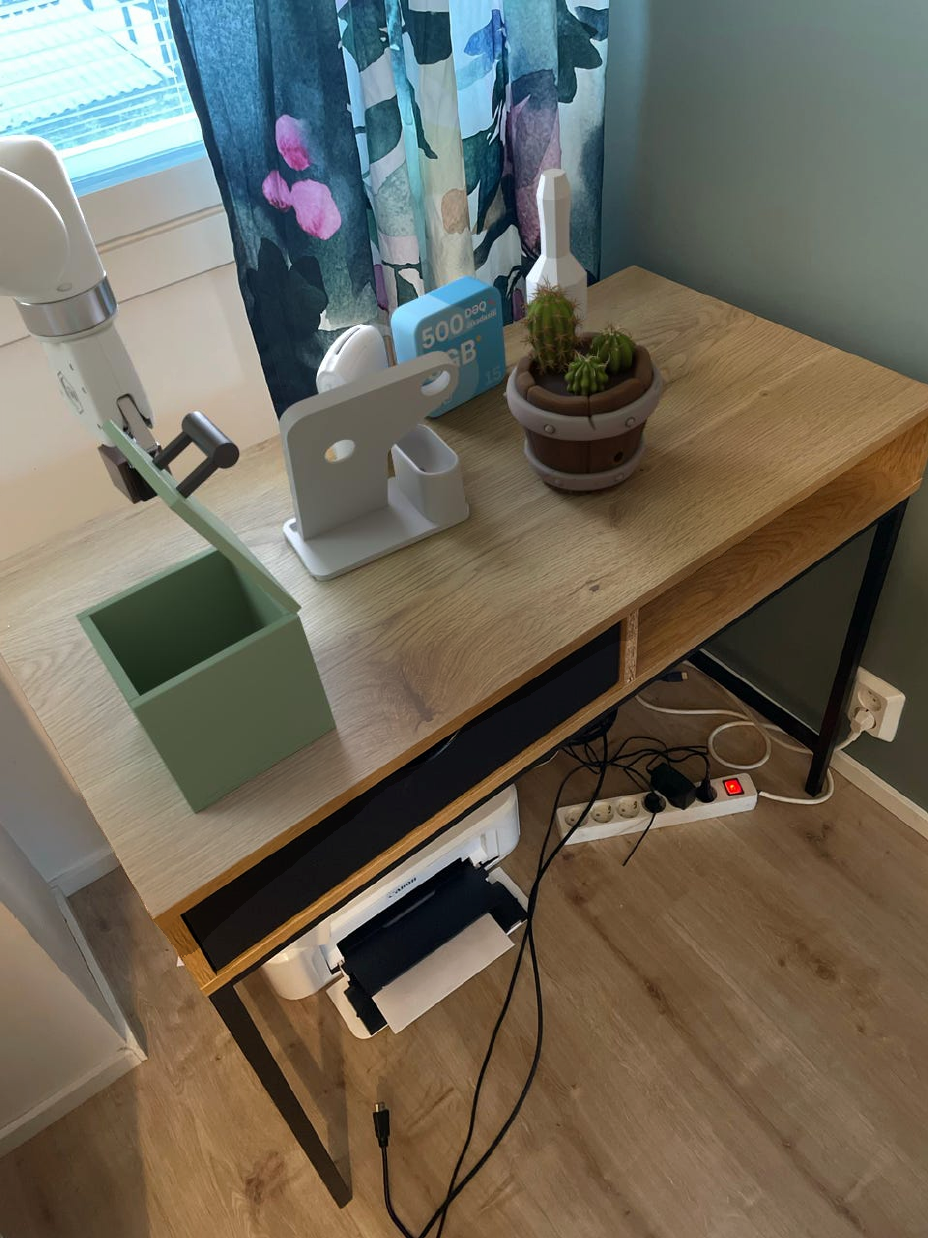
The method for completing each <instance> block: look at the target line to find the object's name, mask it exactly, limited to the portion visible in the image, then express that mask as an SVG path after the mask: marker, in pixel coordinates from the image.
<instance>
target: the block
mask: <svg viewBox="0 0 928 1238" xmlns="http://www.w3.org/2000/svg"><path fill="white" fill-rule="evenodd" d="M132 440H133V441H134V442H135V443H136V440H135V438H134V439H132ZM156 443H157V445H158V448H157V450H158V452H159V453H160V452H161V451H162V450H163V448H162V445H161V444H160V443H159V442H157V441H156ZM97 451H98V453H99V455H100V458H101V459H102V463H103V464H104V466H105V468H106V471H107V473H108V475H109V477H110V480H111V481H112V483H113V486H114V487H115V488H116V489H117V490H118V491H119V492H121V493H122V494H123V495H124V496H125V497H126V498H127V500H129V501H130V503H132V504H133V505H136V504H138V503H140V502H143V501H142V500H141V499H140V498H139V497H138V494H137V492H136V490H135V488H134V485H133V483H132V481H131V478H130V476H129V474H128V472H127V469H126V467H125V466H127V465H129V464H128V463H127V461H126V459H125V457H124V455H123V453H122V452H121V450H120V449H119V448H118V447H117V446H115V447H109V446H106V445H99V446H98V447H97ZM165 470H166V471H167V472H168V473H169V474H171V475H172V476H173V477H174V475H173V473H172V470H171V468H170V464H169V465H168V466H166V467H165Z"/></svg>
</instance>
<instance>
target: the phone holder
mask: <svg viewBox="0 0 928 1238" xmlns="http://www.w3.org/2000/svg"><path fill="white" fill-rule="evenodd" d="M438 371H443V373H442V374H441V375H440V376H439V377H438V378H437V379H436V380H435V381H434V382H432V383H430V384H428V385H426V386H423V387H422V385H423V383H424V381H425V380H426V379H427V378H428V377H429V376H430V375H432V374H433V373H435V372H438ZM458 377H459V371H458V368H457V367H456V366H455V364H454V363H453V361H452V360H451V358H450V357H449V356H448V354H447V353H445V352H442V351H434V352H431V353H428V354H425V355H422V356H420V357H417V358H414V359H412V360H409V361H406V362H403V363H401V364H398V363H397V364H395V365H393V366H390V367H389V368H387V369H384V370H382V371H379V372H376V373H374V374H371V375H368V376H366V377H363V378H360V379H358V380H355V381H352V382H350V383H347V384H344V385H342V386H339V387H336V388H334V389H331V390H328V391H326V392H323V393H320V394H319V393H317V394H314V395H313V396H309V397H307V398H304V399H302V400H299V401H297V402H295V403H293V404H292V405H290V406H289V407H287V408H286V410H285V411H284V412H283V413H282V415H281V417H280V418H279V422H278V429H279V433H280V440H281V446H282V451H283V456H284V463H285V468H286V473H287V478H288V485H289V490H290V497H291V501H292V508H293V512H294V517H292V518H290V519H288V520H287V521H286V522H284V524H283V526H282V529H283V533H284V537H285V539H287V541H288V543H289V544H290V545H291V547H292V549H293V550H294V552H295V553H296V554H297V556H298V558H299V559H300V560H301V562H302V564H303V565H304V566H305V568H306V570H307V571H308V572H309V574H310V575H311V577H314V578H316V581H320V582H325V581H330V580H333V579H335V578H337V577H339V576H342V575H344V574H346V573H349V572H352V571H353V570H356V569H358V568H361V567H362V566H365V565H367V564H369V563H371V562H374V561H376V560H378V559H380V558H383V557H385V556H387V555H390V554H392V553H394V552H397V551H398V550H401V549H403V548H406V547H409V546H410V545H412V544H415V543H417V542H419V541H422V540H424V539H426V538H429V537H431V536H433V535H435V534H437V533H441V532H443V531H444V530H446V529H449V528H451V527H453V526H456V525H458V524H460V523H463V522H465V521H466V520H468V518H469V517H470V506H469V504H468V503H467V501H466V497H465V489H464V480H463V473H462V466H461V459H460V456H459V455H458V454H457V453H456V451H454V449H452V447H450V446H449V445H448V444H447V443H446V441H444V440H443V439H442V438H441V437H440V436H439V435H438V434H437V433H436V432H435V431H434V430H433V429H432V428H431V427H429V426H428V425H426V424H422V423H421V422H422V421H423V420H424V419H425V418H427V417H429V416H428V415H429V414H430V413H431V412H432V411H433V410H434V409H435V408H436V407H438V406H439V405H440V404H441V403H442V402H443V401H444V400H445V399H447V398H448V397H449V396H450V395H451V394H452V393H453V392H454V390H455V389H456V387H457V384H458ZM342 440H351V441H353V442H354V446H353V447H351V448H350V450H349V454H348V455H347V456H346V457H344V458H342V459H340V460H339V459H337V460H329V458H326V454H327V452H328V450H329V449H330V448H331V447H332V445H333V444H335V443H337V442H339V441H342ZM389 453H391V458H392V459H391V460H392V464H393V468H394V474H395V475H393V476H392V477H389V475H388V474H389V471H388V469H389V468H388V463H389V462H388V458H389V457H388V455H389Z"/></svg>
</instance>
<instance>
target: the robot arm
mask: <svg viewBox="0 0 928 1238" xmlns="http://www.w3.org/2000/svg"><path fill="white" fill-rule="evenodd" d="M92 237H93V236H92V235H91V232H90V229H89V228H88V224H87V223H86V220H85V217H84V214H83V211H82V209H81V207H80V204H79V202H78V199H77V196H76V194H75V191H74V188H73V186H72V183H71V181H70V177H69V175H68V173H67V170H66V167H65V165H64V163H63V160H62V158H61V156H60V154H59V152H58V151H57V149H56V148H55V147H54V146H53V145H52V144H51V143H50V142H49V141H48V140H47V139H44V138H42V137H40V136H36V135H28V134H17V135H16V134H15V135H7V136H3V137H0V296H3V297H12V299H13V302H14V304H15V306H16V308H17V310H18V313H19V314H20V317H21V319H22V321H23V323H24V325H25V327H26V329H27V331H28V333H29V336H30V337H31V338H32V339H33V340H35V341H39V342H40V345H41V347H42V350H43V352H44V355H45V358H46V361H47V363H48V365H49V367H50V370H51V373H52V375H53V377H54V379H55V382H56V384H57V387H58V389H59V392H60V394H61V396H62V399H63V402H64V403H65V406H66V408H67V410H68V412H69V413H70V415H71V416H72V417H73V418H74V420H75V421H77V422H78V423H79V424H80V425H81V426H82V427H83V428H84V429H85V430H86V431H87V432H88V433H90V434H91V435H92V436H93V437H94V438H95V439H96V440H98V441H99V442H100V443H101V445H106V446H109V447H115V446H116V445H115V443H114V442H113V441H112V440H111V439H110V438H109V436H108V435H107V434H106V433H105V432H104V430H103V429H102V428H101V426H102V425H104V424H105V423H106V422H107V421H108V420H109V419H110V420H111V421H112V422H113V423H115V424H116V425H117V426H118V427H119V428H120V429H121V430H122V431H123V432H124V433H126V434H127V435H128V436H129V437H130V438H131V439H134V438H135V440H136V444H138V445H139V446H140V447H141V448H142V449H143V450H144V451H145V452H146V453H147V454H149V455H150V456H151V457H152V458H153V459H154V458H155V457H156V456H157V455H158V454H159V452H158V450H157V448H158V445H157V443H156V442H157V441H156V440H155V437H154V436H153V434H152V432H151V431H150V430H152V429H154V427H155V425H156V418H155V415H154V412H153V408H152V405H151V402H150V400H149V397H148V394H147V393H146V390H145V387H144V386H143V383H142V380H141V378H140V376H139V374H138V371H137V368H136V367H135V365H134V362H133V360H132V358H131V356H130V353H129V351H128V349H127V347H126V344H125V342H124V340H123V338H122V336H121V334H120V332H119V330H118V328H117V325H116V324H115V321H116V320H117V319H118V318H119V316H120V307H119V304H118V302H117V299H116V297H115V295H114V294H115V293H114V292H113V289H112V287H111V284H110V281H109V279H108V276H107V274H106V271H105V268H104V266H103V263H102V260H101V258H100V256H99V253H98V250H97V247H96V245H95V242H94V240H93V238H92ZM149 429H150V430H149ZM101 445H100V446H101ZM123 455H124V454H123ZM124 457H125V459H126V461H127V463H128V464H129V465H127V466H125V467H126V469H127V472H128V474H129V476H130V478H131V481H132V483H133V485H134V488H135V490H136V492H137V494H138V497H139V498H140V499H141V500H142V501H141V502H144V503H146V502H148V501H150V500H153V499H154V498H156V497H159V495H158V494H157V493H156V492H155V490H154V489H153V488H152V487H151V486H150V484H149V483H148V482H147V481H146V480H145V479H144V477H143V476H142V475H141V474H140V473H139V472H138V470H137V469H136V468H135V467H134V466H133V465H132V463H131V462H130V461H129V460H128V459H127V457H126V456H125V455H124ZM164 469H165V468H164Z"/></svg>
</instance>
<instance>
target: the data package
mask: <svg viewBox="0 0 928 1238" xmlns="http://www.w3.org/2000/svg"><path fill="white" fill-rule="evenodd" d="M390 327H391V334H392V339H393V345H394V351H395V357H396V363H397V365H398V364H401V363H403V362H406V361H409V360H412V359H414V358H417V357H420V356H422V355H425V354H428V353H431V352H434V351H442V352H445V353H447V354H448V356H449V357H450V358H451V360H452V361H453V363H454V364H455V366H456V367H457V368H458V371H459V377H458V384H457V387H456V389H455V390H454V392H453V393H452V394H451V395H450V396H449V397H448V398H447V399H445V400H444V401H443V402H442V403H441V404H440V405H439V406H438V407H436V408H435V409H434V410H433V411H432V412H431V413H430V414H429V415H428V416H427V417H430V418H438V417H440V416H442V415H444V414H446V413H447V412H449V411H451V410H453V409H455V408H457V407H459V406H461V405H463V404H464V403H466V402H468V401H470V400H471V399H473V398H475V397H477V396H479V395H481V394H483V393H485V392H487V391H488V390H491V389H492V388H495V387H496V386H498V385H499V384H500V383H502V381H503V380H504V378H505V376H506V373H507V361H506V359H507V358H506V347H505V335H504V334H505V333H504V321H503V308H502V296H501V293H500V291H499V289H498V288H497V287H495V286H494V285H491V284H489V283H487V282H485V281H482V280H481V279H478V278H476V277H475V276H471V275H464V276H462V277H459V278H458V279H455V280H453V281H451V282H449V283H447V284H444V285H442V286H441V287H438V288H435V289H434V290H432V291H430V292H427V293H425V294H423V295H421V296H419V297H417V298H415V299H412V300H411V301H408V302H406V303H404V304H402V305H400V306H399V307H397V308H396V309H395V310H394V311H393V313H392V315H391V319H390ZM442 373H443V371H438V372H435V373H433V374H432V375H430V376H429V377H428V378H427V379H426V380H425V381H424V383H423V385H422V387H423V386H426V385H428V384H430V383H432V382H434V381H435V380H436V379H437V378H438V377H439V376H440V375H441V374H442Z"/></svg>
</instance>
